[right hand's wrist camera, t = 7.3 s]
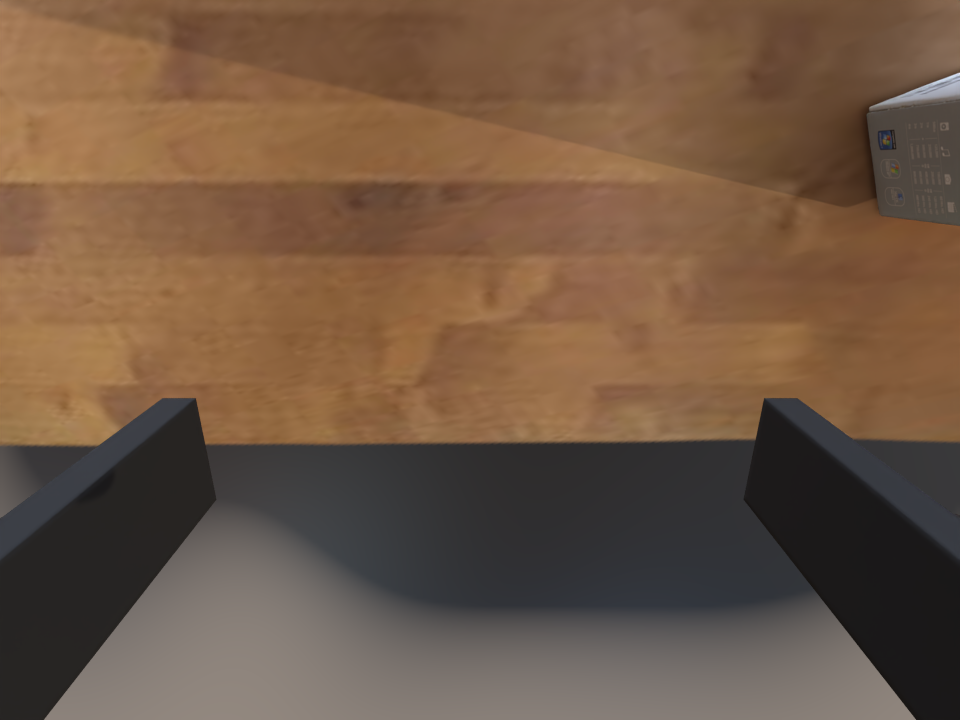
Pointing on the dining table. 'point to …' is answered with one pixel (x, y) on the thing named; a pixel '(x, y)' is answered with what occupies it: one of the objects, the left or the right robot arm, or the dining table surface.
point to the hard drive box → (918, 153)
